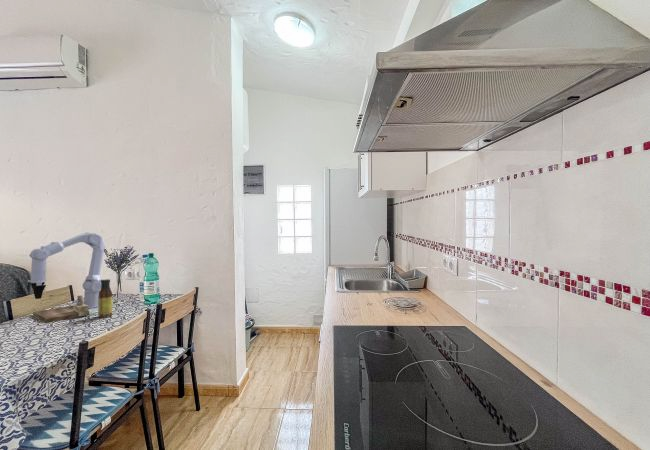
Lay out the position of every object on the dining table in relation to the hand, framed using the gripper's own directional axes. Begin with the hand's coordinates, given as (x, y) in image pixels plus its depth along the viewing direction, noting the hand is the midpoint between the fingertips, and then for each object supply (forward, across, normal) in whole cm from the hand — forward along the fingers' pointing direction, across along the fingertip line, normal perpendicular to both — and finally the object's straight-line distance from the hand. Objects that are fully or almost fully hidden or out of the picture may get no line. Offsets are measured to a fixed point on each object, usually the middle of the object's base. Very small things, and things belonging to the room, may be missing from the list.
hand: (37, 297), depth 164 cm
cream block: (+9, +11, +17) cm, 22 cm away
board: (+10, +5, +9) cm, 15 cm away
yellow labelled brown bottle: (+10, +21, +26) cm, 35 cm away
